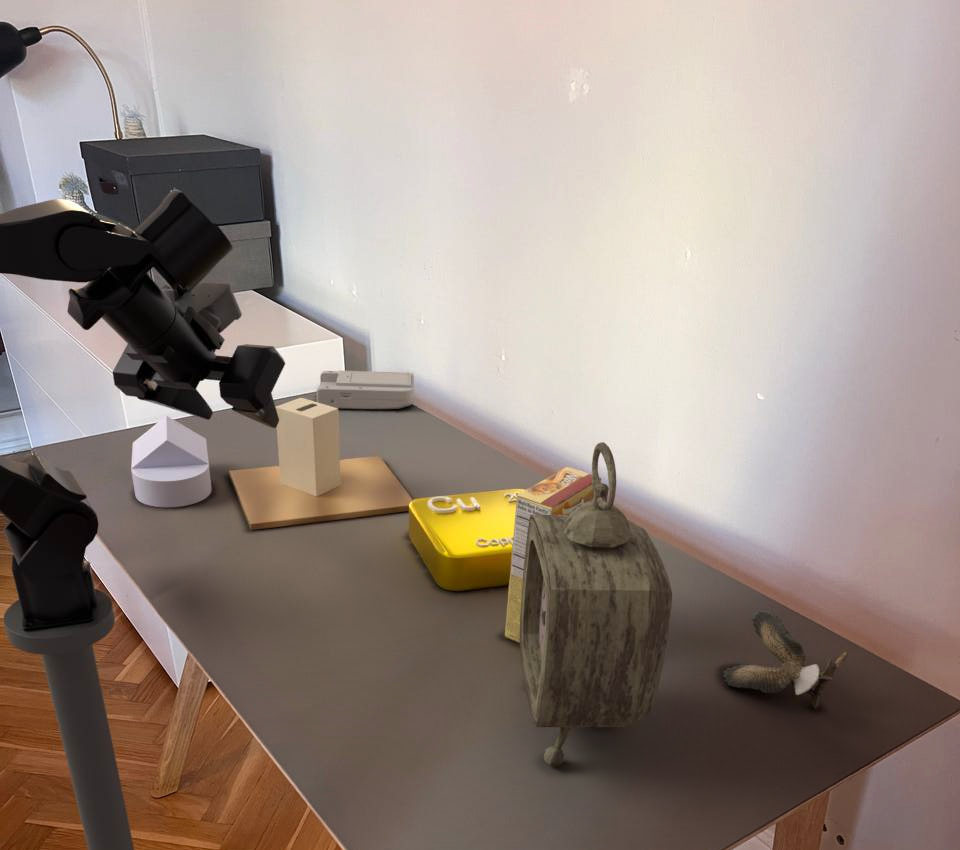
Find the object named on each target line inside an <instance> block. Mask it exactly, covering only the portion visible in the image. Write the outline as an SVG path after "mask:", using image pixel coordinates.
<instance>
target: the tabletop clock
mask: <svg viewBox="0 0 960 850" xmlns="http://www.w3.org/2000/svg"><path fill="white" fill-rule="evenodd" d="M600 455H602V457H603V460H604V463H605V466H606V471H607V478H608V479H607V480H608V481H607V482H608V485H607V484H606V483H604V482H601V483H600V480H599V478H600V476H599V475H600V474H599V458H600ZM591 475H592V485H593V491H594V499H593V501H589V502H586V503H583V504H580V505H578V506H577V507H575V508H574V509H573V510H572V511H571V512H570V514H569V515H530V520H529V525H528V533H527V541H526V551H525V561H524V572H523V585H522V598H521V614H520V643H519V649H520V650H519V651H520V660H521V661H520V662H521V666H522V672H523V679H524V686H525V692H526V695H527V701H528V705H529V709H530V714H531V717H532V720H533V724H534V725H535V728H559V730H558V731H559V732H558V735H557V737H556V740H555V743H554V745H551V746H549V747H547V748H546V749H545V751H544V754H543V760H544V762H545V764H547V765H548V766H550V767H558V766H560V765H561V764H562V763H563V761H564V758H565V757H564V756H565V754H564V751H563V749H562V747H563V745H564V743H565V742H566V739H567V738H568V736H569V734H570V732H571V730H572V729H573V728H629V727H631V726H633V725H634V724H635V723H637V722H639V721H640V720H642V719H644V718H645V717H647V716H649V715H650V714H651V713H652V711H653V708H654V705H655V702H656V699H657V694H658V690H659V685H660V680H661V676H662V670H663V666H664V661H665V655H666V649H667V643H668V637H669V631H670V626H671V625H670V623H671V617H672V604H673V592H672V590H673V589H672V585H671V581H670V578H669V575H668V572H667V569H666V567H665V565H664V563H663V561H662V558H661V555H660V553H659V552H658V549H657V547H656V546H655V544H654V542H653V540H652V538H651V536H650V535H649V534H648V532H647V530H646V529H645V528H643V527H641V526H639V525H638V524H636V523H634V522H632V521H631V520H629V519H628V518H627V516H626V515H625V514H624V513H623V512H622V510H620V509H619V508H618V507H617V506H616V505H614V503H615V499H616V491H617V469H616V462H615V457H614V455H613V452H612V450H611V449H610V447H609V445H607V443H605V442H604V441H603V442H602V441H601V442H598V443H597V444H596V445H595V447H594V450H593V453H592V461H591Z"/></svg>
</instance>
